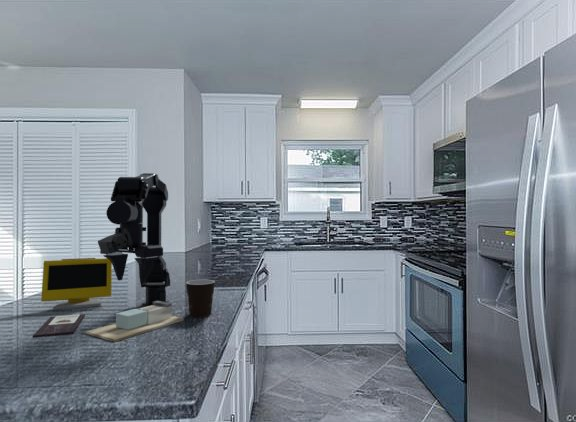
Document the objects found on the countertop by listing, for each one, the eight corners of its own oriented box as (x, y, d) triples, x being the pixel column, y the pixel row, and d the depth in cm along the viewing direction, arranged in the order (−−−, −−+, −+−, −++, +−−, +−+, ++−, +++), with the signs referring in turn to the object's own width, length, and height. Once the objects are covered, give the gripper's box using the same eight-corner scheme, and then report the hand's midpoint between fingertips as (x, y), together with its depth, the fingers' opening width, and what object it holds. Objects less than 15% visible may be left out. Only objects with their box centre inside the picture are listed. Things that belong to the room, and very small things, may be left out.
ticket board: (85, 333, 98) (86, 314, 98) (155, 314, 116) (155, 298, 116) (114, 342, 91) (114, 321, 91) (183, 320, 110) (183, 303, 110)
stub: (115, 326, 101) (116, 313, 101) (135, 321, 106) (135, 308, 106) (127, 329, 98) (127, 316, 98) (147, 324, 103) (147, 311, 104)
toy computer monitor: (41, 311, 119) (41, 261, 119) (45, 306, 126) (45, 258, 126) (111, 305, 127) (111, 258, 127) (111, 300, 134) (111, 256, 134)
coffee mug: (207, 319, 111) (208, 285, 111) (180, 317, 113) (180, 283, 113) (222, 309, 123) (222, 278, 123) (197, 308, 124) (197, 277, 124)
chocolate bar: (32, 335, 94) (50, 316, 111) (32, 339, 94) (50, 320, 111) (73, 331, 98) (85, 314, 114) (73, 335, 98) (85, 317, 114)
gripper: (81, 223, 99) (81, 283, 99) (128, 224, 90) (127, 290, 90) (119, 222, 109) (118, 277, 109) (164, 224, 100) (164, 283, 100)
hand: (130, 281), depth 102 cm, fingers open, 9 cm apart
